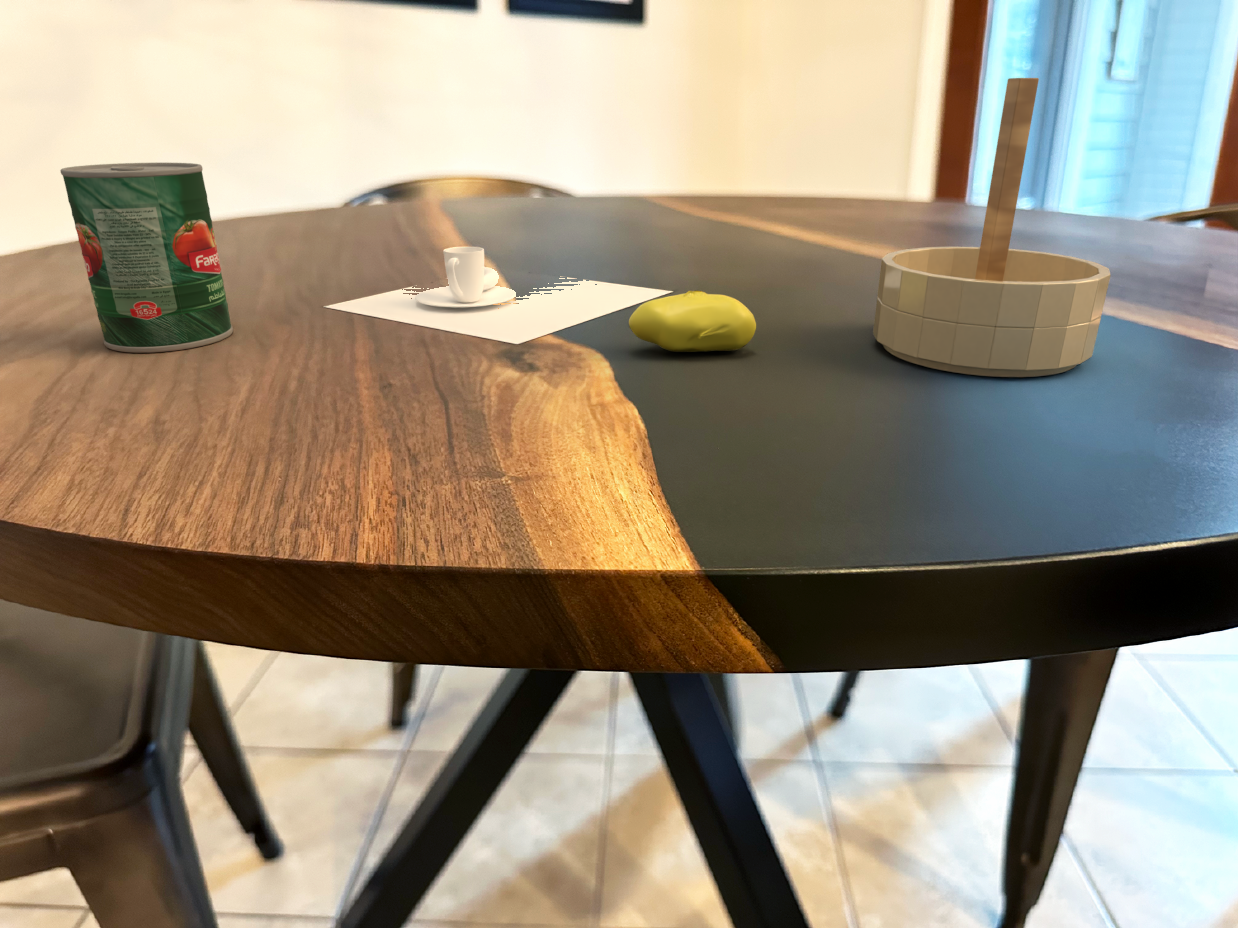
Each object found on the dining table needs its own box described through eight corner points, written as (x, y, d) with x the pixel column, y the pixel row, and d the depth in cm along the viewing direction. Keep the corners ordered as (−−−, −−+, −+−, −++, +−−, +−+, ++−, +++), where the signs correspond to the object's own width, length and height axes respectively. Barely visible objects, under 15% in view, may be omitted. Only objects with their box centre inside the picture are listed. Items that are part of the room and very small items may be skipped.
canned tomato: (250, 338, 57) (219, 166, 52) (120, 360, 52) (74, 173, 48) (212, 318, 62) (181, 160, 58) (92, 336, 57) (48, 166, 53)
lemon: (758, 361, 51) (762, 298, 50) (627, 360, 52) (627, 297, 50) (751, 343, 55) (755, 284, 54) (630, 342, 55) (630, 283, 54)
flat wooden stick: (991, 329, 56) (1035, 79, 50) (1038, 349, 51) (1093, 77, 45) (922, 333, 55) (958, 79, 49) (963, 353, 51) (1009, 77, 45)
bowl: (1008, 322, 60) (1022, 244, 58) (1139, 374, 49) (1163, 279, 47) (841, 330, 58) (849, 249, 56) (935, 386, 47) (950, 287, 44)
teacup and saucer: (471, 286, 73) (468, 237, 71) (543, 296, 68) (541, 245, 67) (394, 304, 66) (388, 252, 64) (468, 317, 62) (463, 262, 60)
